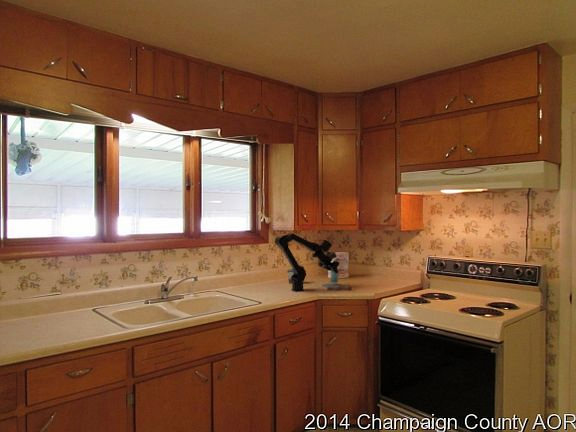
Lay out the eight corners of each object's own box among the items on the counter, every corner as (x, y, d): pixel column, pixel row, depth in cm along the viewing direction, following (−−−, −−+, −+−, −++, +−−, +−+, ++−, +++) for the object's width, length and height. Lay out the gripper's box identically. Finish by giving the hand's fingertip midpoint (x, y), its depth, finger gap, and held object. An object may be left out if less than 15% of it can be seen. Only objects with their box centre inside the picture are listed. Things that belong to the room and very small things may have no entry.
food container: (304, 282, 290) (304, 268, 290) (304, 284, 284) (304, 270, 283) (287, 282, 291) (287, 268, 291) (286, 283, 285) (286, 269, 285)
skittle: (336, 282, 271) (336, 268, 270) (329, 282, 272) (329, 267, 272) (338, 281, 275) (338, 267, 275) (331, 281, 277) (331, 266, 277)
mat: (331, 288, 266) (331, 287, 266) (322, 285, 276) (322, 284, 276) (346, 287, 271) (346, 285, 271) (336, 284, 282) (336, 282, 282)
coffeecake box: (333, 279, 304) (333, 253, 304) (328, 277, 310) (327, 252, 310) (349, 277, 311) (348, 252, 311) (343, 276, 318) (343, 251, 317)
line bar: (327, 290, 259) (327, 287, 259) (327, 289, 262) (327, 286, 262) (351, 290, 261) (351, 287, 261) (350, 289, 264) (350, 286, 263)
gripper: (337, 249, 263) (350, 265, 269) (322, 247, 280) (334, 262, 285) (327, 262, 260) (341, 277, 265) (312, 259, 276) (325, 273, 282)
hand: (335, 272), depth 274 cm, fingers closed on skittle, 5 cm apart
